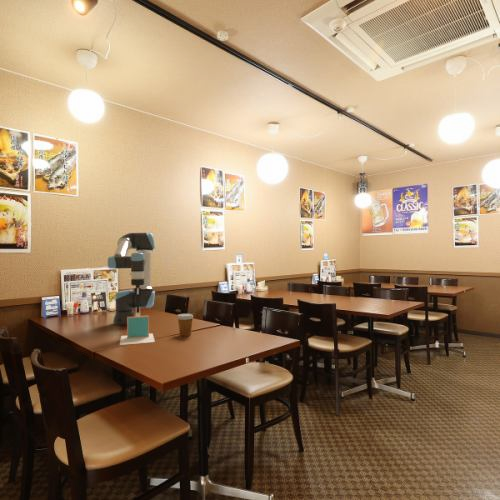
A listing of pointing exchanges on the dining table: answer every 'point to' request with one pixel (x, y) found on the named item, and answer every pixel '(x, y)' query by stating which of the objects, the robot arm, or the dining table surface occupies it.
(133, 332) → the tile
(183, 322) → the disposable coffee cup
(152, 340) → the mat
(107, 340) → the dining table surface
